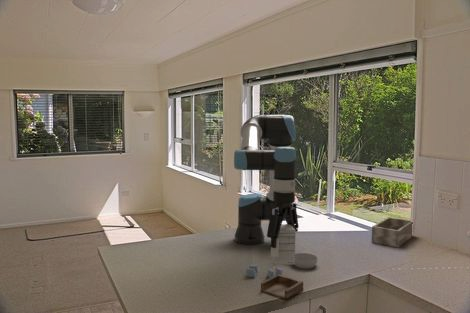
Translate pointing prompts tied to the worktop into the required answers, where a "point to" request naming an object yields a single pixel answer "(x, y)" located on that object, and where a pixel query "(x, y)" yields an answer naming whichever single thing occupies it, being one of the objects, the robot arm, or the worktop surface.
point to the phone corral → (392, 232)
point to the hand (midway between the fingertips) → (282, 252)
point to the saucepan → (305, 260)
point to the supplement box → (286, 245)
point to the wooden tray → (282, 286)
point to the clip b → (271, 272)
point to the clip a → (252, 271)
